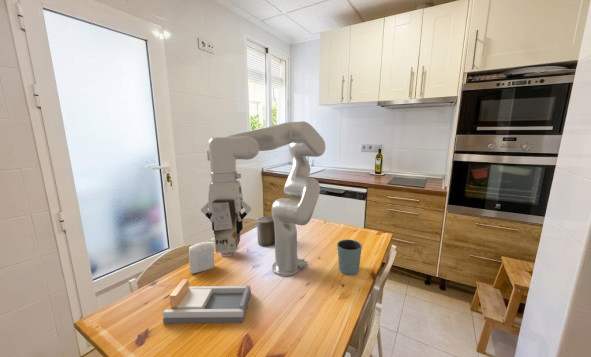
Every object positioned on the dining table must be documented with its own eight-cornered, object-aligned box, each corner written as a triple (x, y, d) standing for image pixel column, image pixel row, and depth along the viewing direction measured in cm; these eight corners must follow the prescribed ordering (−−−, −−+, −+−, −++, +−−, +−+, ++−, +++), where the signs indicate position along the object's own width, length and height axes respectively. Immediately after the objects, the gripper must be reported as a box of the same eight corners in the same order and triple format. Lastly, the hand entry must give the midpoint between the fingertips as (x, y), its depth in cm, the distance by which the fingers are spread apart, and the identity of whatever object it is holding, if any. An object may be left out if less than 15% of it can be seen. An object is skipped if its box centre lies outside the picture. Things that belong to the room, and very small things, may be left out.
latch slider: (212, 293, 86) (210, 278, 85) (202, 312, 77) (200, 295, 76) (184, 294, 86) (182, 279, 85) (171, 312, 77) (169, 295, 76)
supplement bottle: (220, 252, 121) (218, 228, 119) (233, 249, 124) (231, 226, 121) (221, 258, 115) (219, 233, 113) (235, 255, 118) (233, 230, 115)
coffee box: (236, 252, 74) (233, 201, 71) (215, 253, 73) (211, 202, 70) (240, 239, 83) (238, 194, 80) (221, 240, 82) (218, 195, 79)
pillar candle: (279, 241, 132) (278, 215, 130) (267, 248, 124) (266, 220, 122) (265, 238, 138) (264, 213, 135) (253, 244, 130) (252, 217, 127)
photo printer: (213, 263, 110) (211, 238, 108) (216, 267, 107) (214, 241, 104) (189, 270, 105) (186, 244, 102) (191, 275, 101) (188, 248, 99)
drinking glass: (362, 267, 106) (363, 241, 104) (358, 279, 97) (359, 251, 95) (340, 262, 110) (340, 237, 108) (334, 273, 101) (334, 247, 99)
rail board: (251, 293, 89) (250, 282, 88) (242, 322, 75) (241, 309, 74) (183, 294, 89) (182, 283, 88) (163, 323, 75) (161, 310, 74)
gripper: (254, 175, 78) (256, 227, 81) (201, 176, 78) (205, 228, 81) (249, 179, 70) (252, 236, 73) (191, 180, 70) (196, 237, 74)
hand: (227, 231), depth 77 cm, fingers closed on coffee box, 6 cm apart
